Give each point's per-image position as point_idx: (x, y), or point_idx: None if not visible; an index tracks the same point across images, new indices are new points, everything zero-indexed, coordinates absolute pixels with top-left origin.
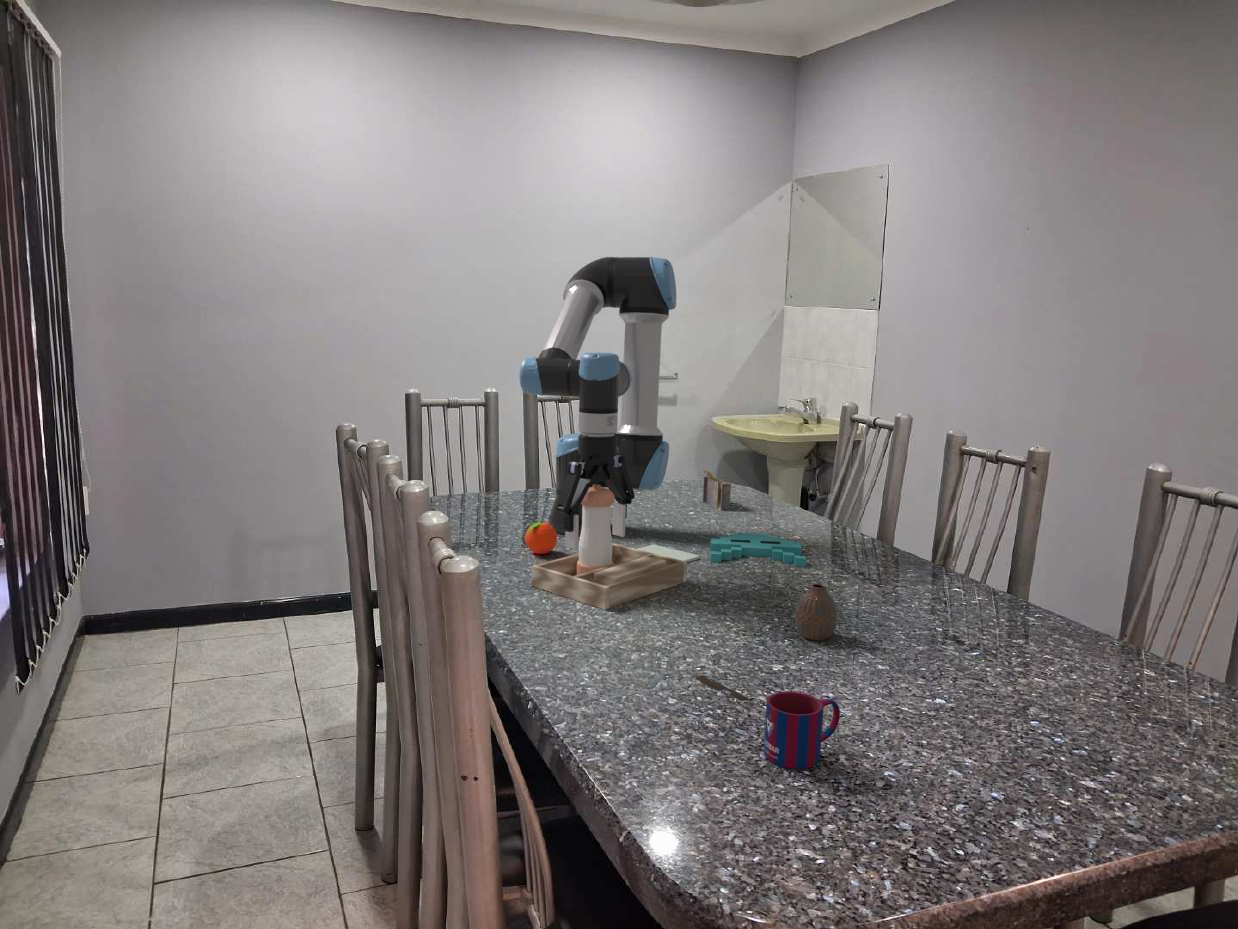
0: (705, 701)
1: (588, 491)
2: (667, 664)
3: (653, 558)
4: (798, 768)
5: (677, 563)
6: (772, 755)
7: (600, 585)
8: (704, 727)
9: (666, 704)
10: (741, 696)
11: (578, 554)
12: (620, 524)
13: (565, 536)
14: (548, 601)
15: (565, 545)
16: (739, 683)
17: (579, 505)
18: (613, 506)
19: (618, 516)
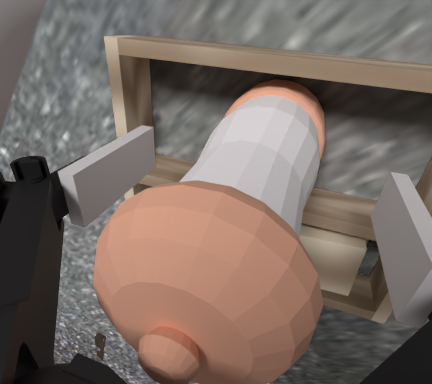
0: (78, 340)
1: (104, 304)
2: (97, 314)
3: (351, 270)
4: None
5: (356, 310)
6: None
7: None
8: (57, 341)
9: (56, 322)
10: (100, 356)
11: (288, 66)
12: (381, 236)
13: (122, 137)
14: (110, 131)
15: (140, 127)
16: (115, 355)
17: (59, 253)
18: (423, 253)
19: (396, 247)
